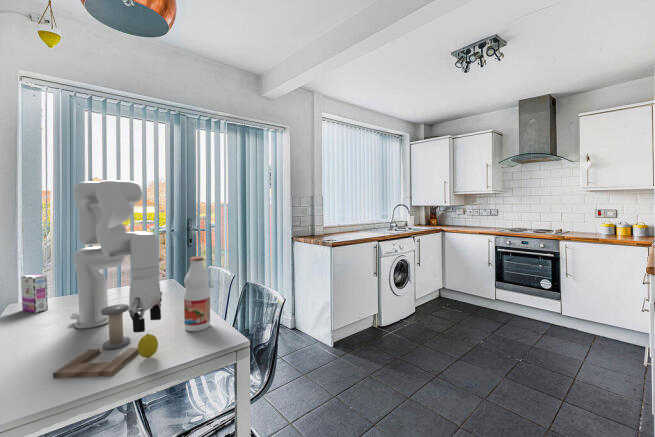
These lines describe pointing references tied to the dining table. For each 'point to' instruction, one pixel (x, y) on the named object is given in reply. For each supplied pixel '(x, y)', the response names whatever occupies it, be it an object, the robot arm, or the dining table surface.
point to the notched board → (94, 365)
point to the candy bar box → (34, 293)
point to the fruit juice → (196, 297)
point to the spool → (115, 327)
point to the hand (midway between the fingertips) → (147, 325)
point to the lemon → (147, 345)
